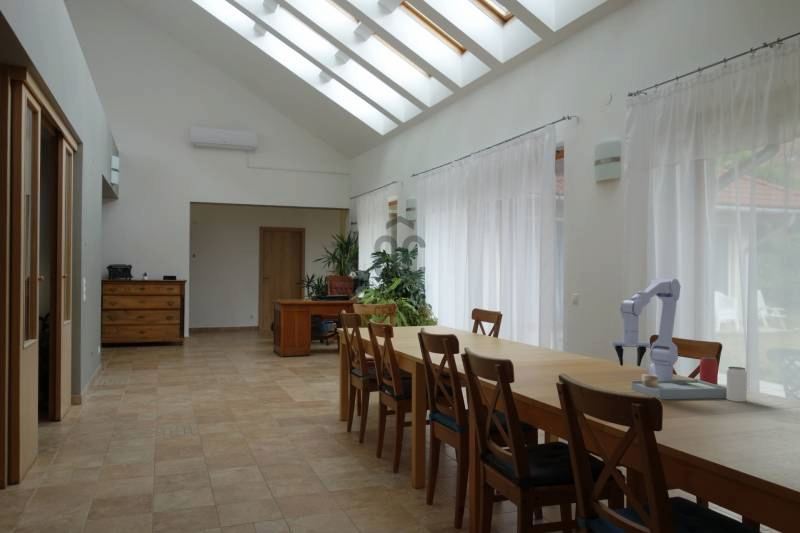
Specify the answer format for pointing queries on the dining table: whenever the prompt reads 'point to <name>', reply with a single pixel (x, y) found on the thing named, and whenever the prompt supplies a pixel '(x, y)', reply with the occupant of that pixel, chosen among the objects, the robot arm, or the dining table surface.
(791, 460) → the dining table surface
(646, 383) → the block
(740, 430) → the dining table surface
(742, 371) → the can
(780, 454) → the dining table surface
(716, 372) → the beer can
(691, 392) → the trap box
